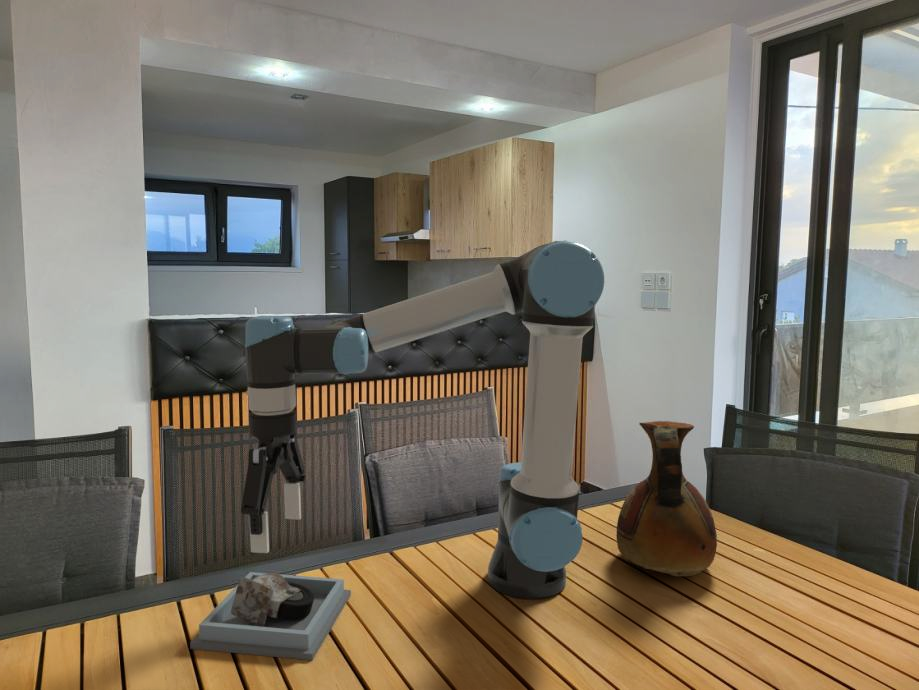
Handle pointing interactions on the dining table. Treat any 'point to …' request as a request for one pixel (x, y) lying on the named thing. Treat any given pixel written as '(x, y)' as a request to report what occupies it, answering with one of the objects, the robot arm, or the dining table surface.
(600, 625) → the dining table surface
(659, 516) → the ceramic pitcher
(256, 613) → the caster wheel
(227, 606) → the tray
